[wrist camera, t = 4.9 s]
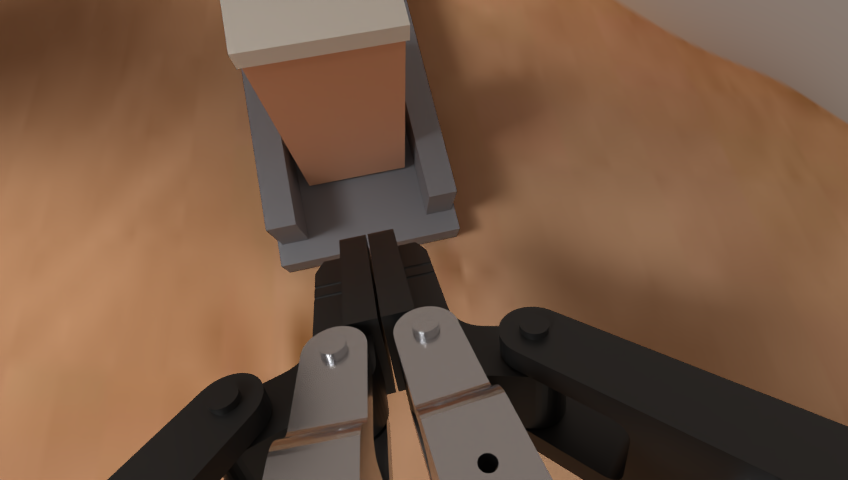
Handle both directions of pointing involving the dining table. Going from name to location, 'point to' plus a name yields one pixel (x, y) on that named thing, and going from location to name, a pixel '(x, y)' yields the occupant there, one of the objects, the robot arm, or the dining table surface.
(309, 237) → the key track
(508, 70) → the dining table surface
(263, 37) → the block
